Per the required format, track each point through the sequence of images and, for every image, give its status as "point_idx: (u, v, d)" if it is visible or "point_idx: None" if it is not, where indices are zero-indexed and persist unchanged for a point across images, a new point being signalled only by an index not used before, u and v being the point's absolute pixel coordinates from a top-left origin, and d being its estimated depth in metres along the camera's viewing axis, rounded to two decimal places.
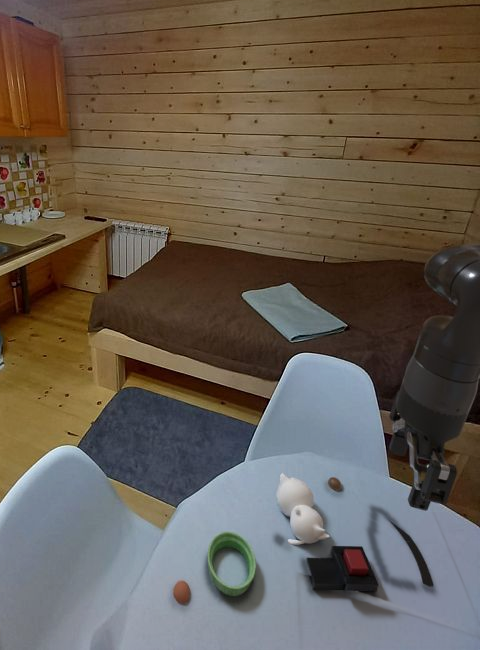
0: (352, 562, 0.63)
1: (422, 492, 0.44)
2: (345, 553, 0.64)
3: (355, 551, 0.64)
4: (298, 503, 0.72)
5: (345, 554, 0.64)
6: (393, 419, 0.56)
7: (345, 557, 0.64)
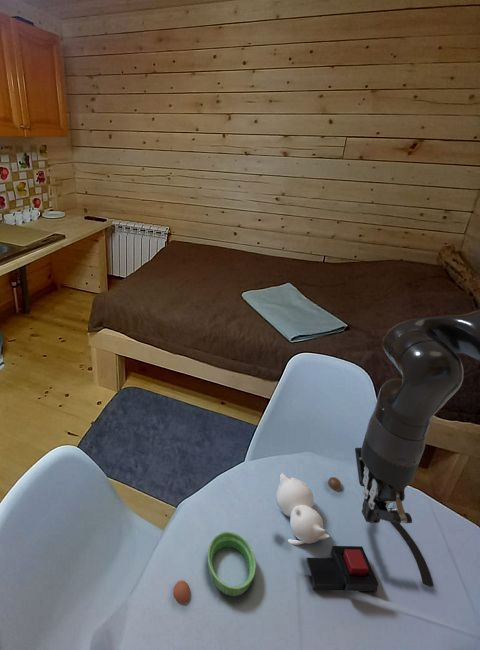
0: (352, 562, 0.63)
1: (376, 512, 0.55)
2: (345, 553, 0.64)
3: (355, 551, 0.64)
4: (298, 503, 0.72)
5: (345, 554, 0.64)
6: None
7: (345, 557, 0.64)
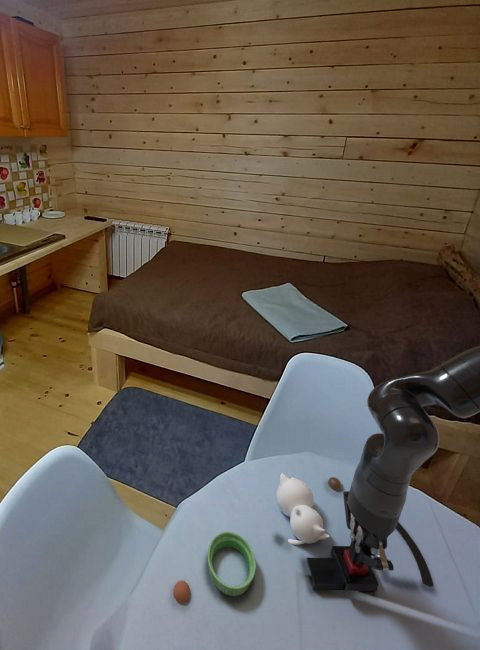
0: None
1: (362, 557, 0.59)
2: (345, 553, 0.64)
3: None
4: (298, 503, 0.72)
5: (345, 554, 0.64)
6: None
7: (345, 557, 0.64)
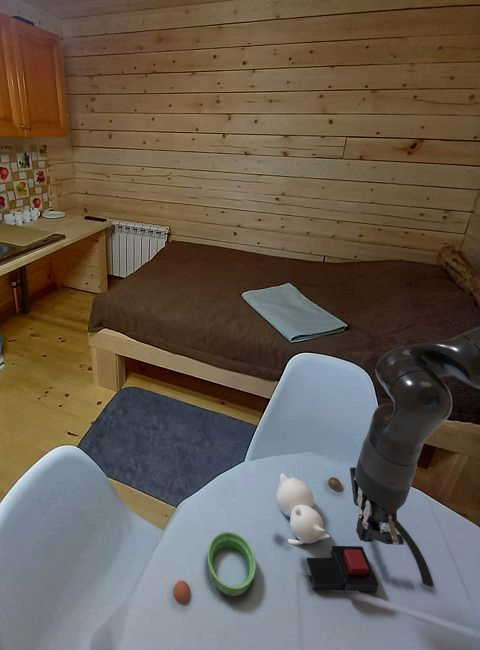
0: (352, 562, 0.63)
1: (370, 532, 0.57)
2: (345, 553, 0.64)
3: (355, 551, 0.64)
4: (298, 503, 0.72)
5: (345, 554, 0.64)
6: (357, 502, 0.61)
7: (345, 557, 0.64)
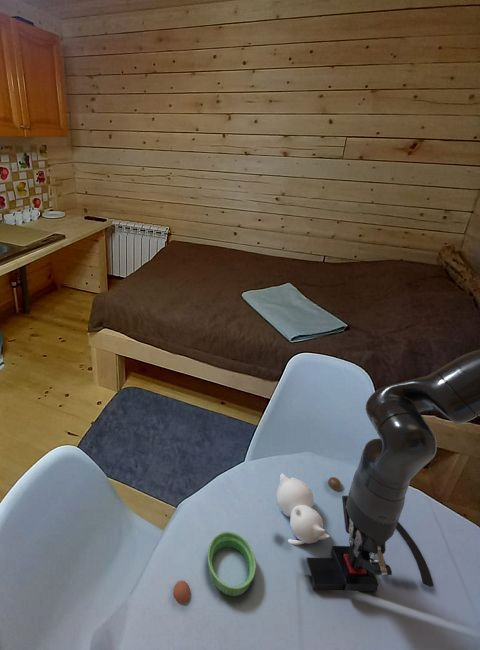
0: None
1: (360, 561, 0.60)
2: (344, 557, 0.65)
3: None
4: (298, 503, 0.72)
5: (344, 558, 0.65)
6: None
7: None
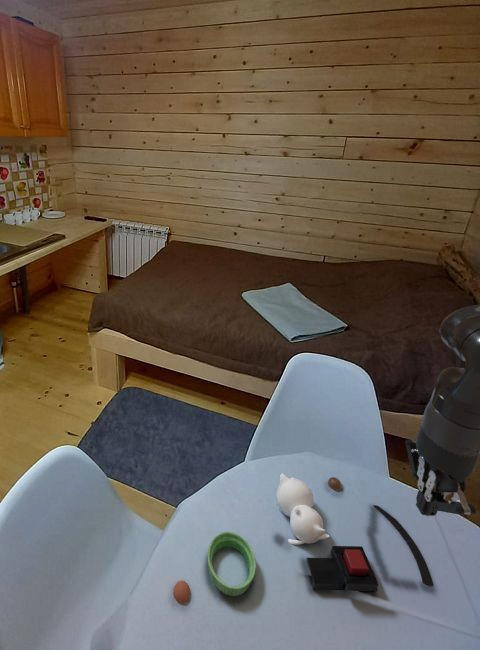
0: (352, 562, 0.63)
1: (435, 504, 0.54)
2: (345, 553, 0.64)
3: (355, 551, 0.64)
4: (298, 503, 0.72)
5: (345, 554, 0.64)
6: (417, 475, 0.59)
7: (345, 557, 0.64)
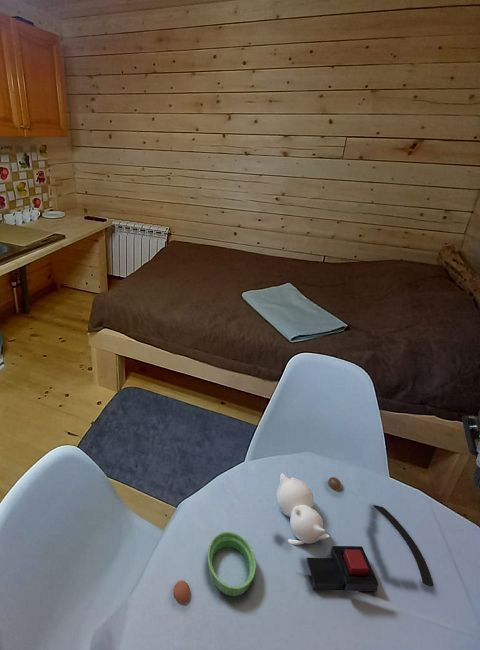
0: (352, 562, 0.63)
1: None
2: (345, 553, 0.64)
3: (355, 551, 0.64)
4: (298, 503, 0.72)
5: (345, 554, 0.64)
6: (475, 451, 0.57)
7: (345, 557, 0.64)
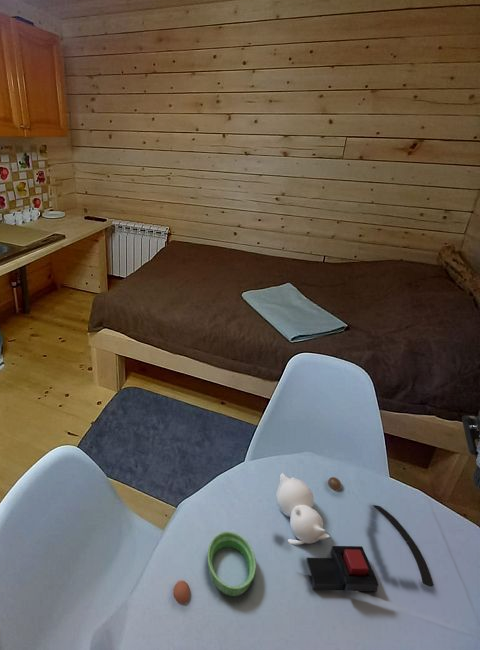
0: (352, 562, 0.63)
1: None
2: (345, 553, 0.64)
3: (355, 551, 0.64)
4: (298, 503, 0.72)
5: (345, 554, 0.64)
6: (475, 451, 0.57)
7: (345, 557, 0.64)
